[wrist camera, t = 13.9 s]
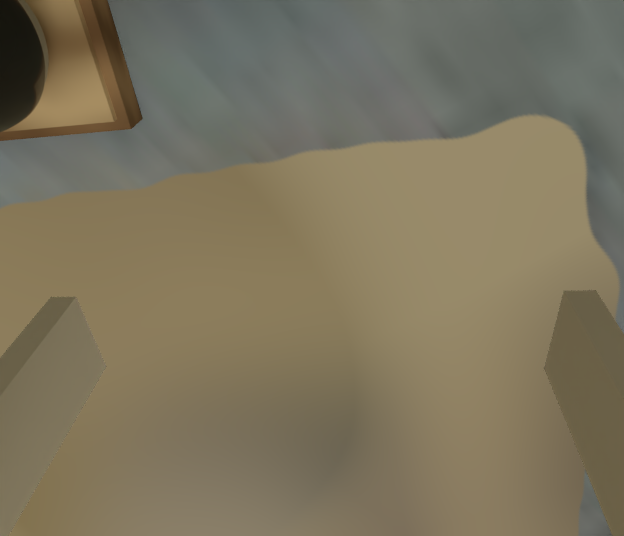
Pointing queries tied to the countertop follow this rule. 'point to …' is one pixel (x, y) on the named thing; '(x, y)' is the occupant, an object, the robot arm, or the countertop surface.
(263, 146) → the countertop surface
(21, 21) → the pump dispenser
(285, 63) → the countertop surface
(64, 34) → the stand
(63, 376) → the robot arm
